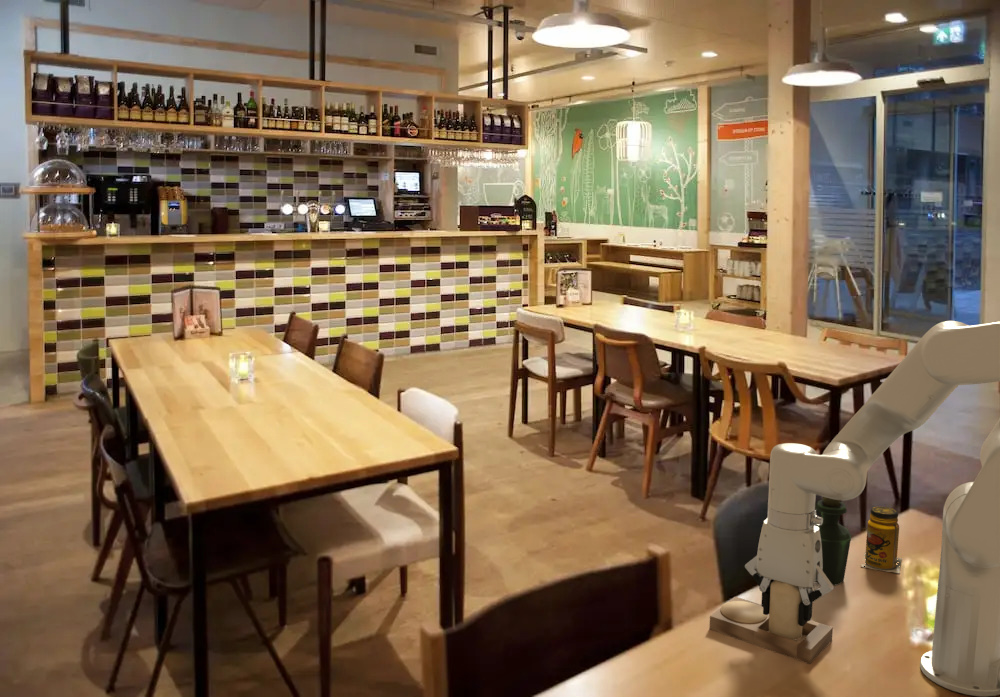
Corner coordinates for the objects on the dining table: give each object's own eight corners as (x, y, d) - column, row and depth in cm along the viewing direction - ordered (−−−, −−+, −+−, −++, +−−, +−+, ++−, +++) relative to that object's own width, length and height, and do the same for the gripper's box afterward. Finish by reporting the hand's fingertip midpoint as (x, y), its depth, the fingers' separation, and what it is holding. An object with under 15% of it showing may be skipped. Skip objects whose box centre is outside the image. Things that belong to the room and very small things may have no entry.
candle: (804, 642, 146) (807, 586, 144) (770, 639, 147) (772, 583, 145) (799, 626, 151) (802, 572, 149) (767, 624, 152) (769, 570, 150)
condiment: (860, 567, 179) (864, 512, 177) (864, 553, 186) (868, 500, 184) (899, 574, 175) (904, 518, 173) (901, 559, 183) (906, 505, 181)
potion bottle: (846, 572, 176) (852, 488, 173) (850, 589, 168) (856, 501, 165) (804, 567, 178) (809, 484, 175) (806, 584, 171) (811, 497, 168)
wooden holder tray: (832, 640, 149) (833, 625, 148) (809, 663, 141) (810, 648, 141) (734, 609, 160) (735, 595, 160) (709, 629, 153) (710, 614, 152)
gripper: (850, 522, 143) (844, 624, 146) (752, 500, 154) (748, 595, 157) (834, 535, 137) (827, 641, 140) (733, 511, 148) (729, 610, 151)
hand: (785, 616), depth 148 cm, fingers closed on candle, 5 cm apart
